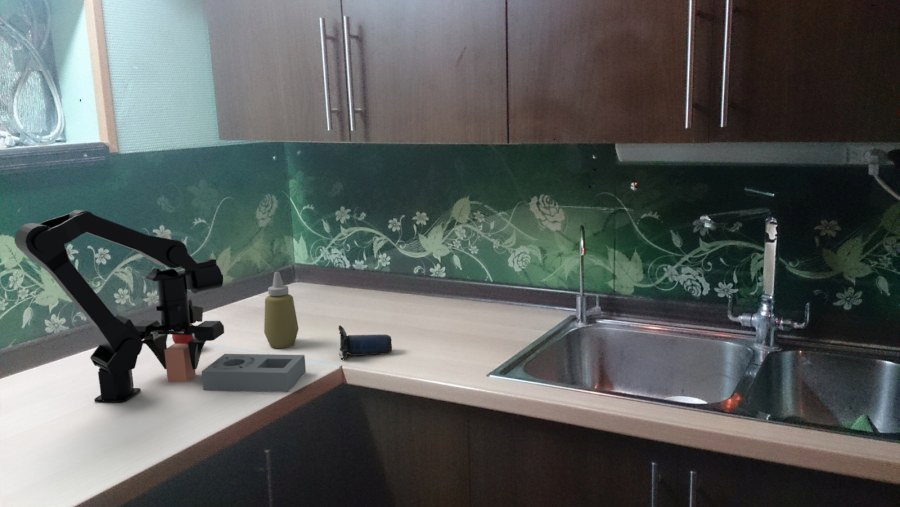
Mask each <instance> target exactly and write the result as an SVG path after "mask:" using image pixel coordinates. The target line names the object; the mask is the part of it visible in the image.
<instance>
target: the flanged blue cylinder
mask: <svg viewBox="0 0 900 507" xmlns="http://www.w3.org/2000/svg"><path fill="white" fill-rule="evenodd" d="M338 331H339V338H340V339H339V343H340V345H339V351H340V352H341V353H339V356H341V357H340V361H341V360H343V359H344V360H343V361H345V360H346V359H347V357H348V354H350V355H351V356H352V355H353V356H354V355H357V356H358V355H359V356H360V355H365V354H366V355H381V354H380V353H387V354H389V353H392V350H393V345H392V336H390V335H388V334H349V335H348V334H347V332H346V330H345V328H344V327H343V326H341V325H338ZM388 352H389V353H388Z"/></svg>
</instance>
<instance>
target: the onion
mask: <svg viewBox="0 0 900 507" xmlns="http://www.w3.org/2000/svg"><path fill="white" fill-rule="evenodd" d="M191 326H195V325H194V323H192V324H191ZM171 335H172V337H171V338H172V342H174V343H173V344H188V342H189V341H190V340H192V339H193V337H192V335H179V334H171Z"/></svg>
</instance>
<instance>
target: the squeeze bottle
mask: <svg viewBox="0 0 900 507" xmlns="http://www.w3.org/2000/svg"><path fill="white" fill-rule="evenodd" d="M267 293H268V296H266V297H265V299H264V326H263V327H264V328H263V332H264V336H265V337H266V339H267V343H268V345H269V346H270V347H271V348H273V349H284V348H289V347H293V346H294V345H295V343H296V340H297V335H298V332H299V328H300V327H299V324H298V318H297V312H296V307H295V302H294V296H292V295H291V294H290V293H289V286H288V285H285V284H284V281H283V280H282V276H281V272H280V271H275V272H274V273H273V280H272V286H269V287H268V288H267Z"/></svg>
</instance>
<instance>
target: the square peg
mask: <svg viewBox="0 0 900 507" xmlns="http://www.w3.org/2000/svg"><path fill="white" fill-rule="evenodd" d="M164 351H165V360H166V369H165V370H166V376H167V377H166V378H167V382H169V383H170V382H173V383H174V382H175V383H176V382H178V383H179V382H181V383H183V382H185V383H187V382H189V380H191V379H192V378H194V377H195V376H196V369H195V370H193V368H192V365H191V359H190V353H189V347H188V344H175V343H173V344H171V345H170V346H167V348H166V349H165V350H164Z"/></svg>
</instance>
